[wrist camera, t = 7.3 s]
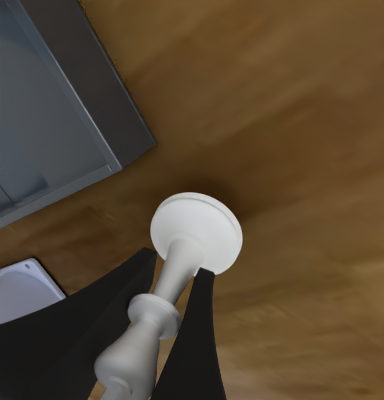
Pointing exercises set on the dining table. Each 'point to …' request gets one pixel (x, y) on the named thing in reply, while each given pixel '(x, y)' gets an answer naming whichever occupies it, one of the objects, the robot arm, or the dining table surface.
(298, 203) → the dining table surface
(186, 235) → the chess piece
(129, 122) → the square open tray
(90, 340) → the robot arm
